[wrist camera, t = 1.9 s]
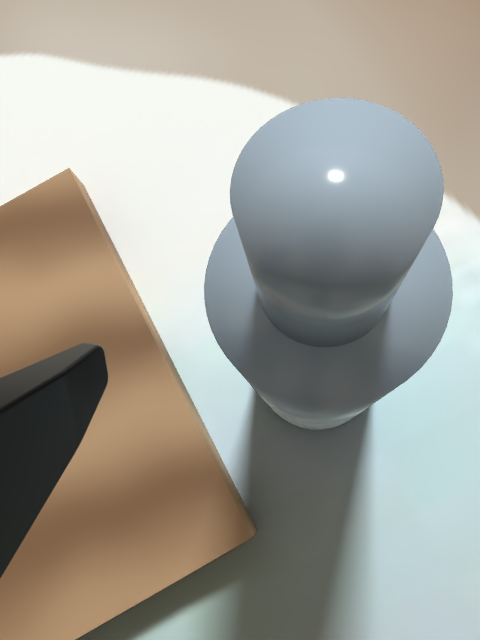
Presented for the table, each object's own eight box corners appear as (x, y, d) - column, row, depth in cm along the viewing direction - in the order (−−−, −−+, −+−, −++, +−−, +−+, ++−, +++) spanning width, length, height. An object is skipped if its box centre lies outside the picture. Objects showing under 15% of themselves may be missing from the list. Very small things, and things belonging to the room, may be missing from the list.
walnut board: (257, 530, 18) (252, 537, 16) (29, 661, 18) (5, 679, 16) (83, 185, 23) (69, 168, 22) (-91, 283, 23) (-117, 272, 22)
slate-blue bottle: (391, 413, 18) (622, 312, 5) (273, 442, 18) (187, 423, 5) (353, 301, 20) (453, -13, 6) (245, 331, 20) (120, 92, 7)
